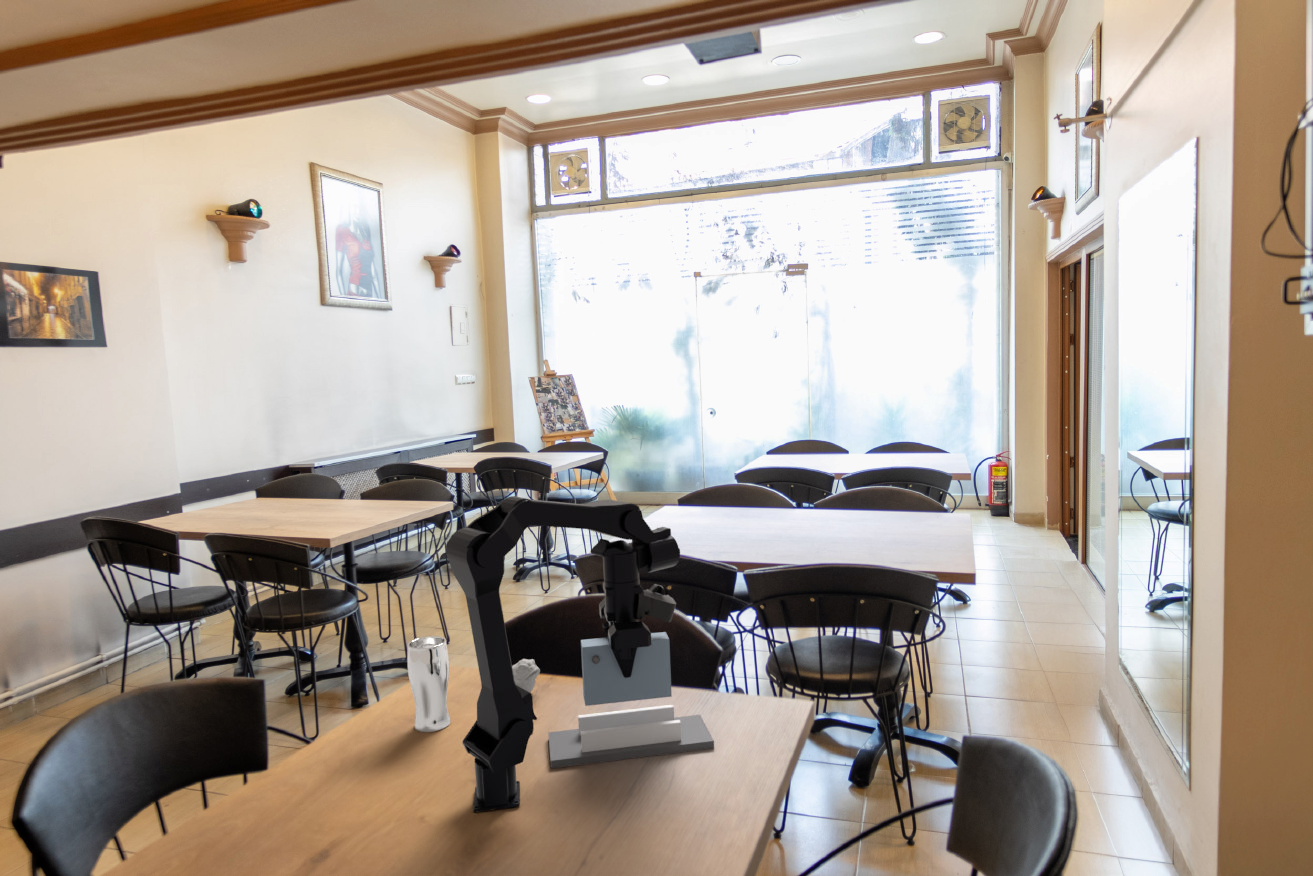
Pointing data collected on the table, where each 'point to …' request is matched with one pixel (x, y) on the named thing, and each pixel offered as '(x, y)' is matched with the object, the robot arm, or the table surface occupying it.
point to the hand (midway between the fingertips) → (625, 672)
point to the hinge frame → (628, 736)
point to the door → (607, 678)
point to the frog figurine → (525, 674)
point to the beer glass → (429, 682)
